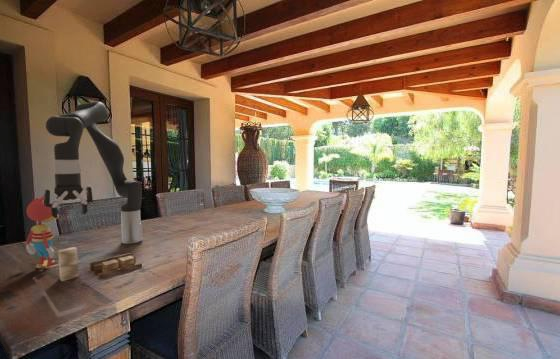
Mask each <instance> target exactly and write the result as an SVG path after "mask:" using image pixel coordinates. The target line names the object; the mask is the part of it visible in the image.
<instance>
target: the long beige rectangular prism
mask: <svg viewBox="0 0 560 359" xmlns="http://www.w3.org/2000/svg"><path fill="white" fill-rule="evenodd" d="M57 251H58V252H57V253H58V263H59V265H58V269H59V270H58V271H59V272H58V273H59V280H60V281H61V282H65V281H67V280H72V279H75V278H78V277H79V260H78V248H77V247H76V246H73V247H68V248H62V249H58V250H57Z"/></svg>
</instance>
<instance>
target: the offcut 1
mask: <svg viewBox="0 0 560 359" xmlns="http://www.w3.org/2000/svg"><path fill="white" fill-rule="evenodd" d="M115 269H119V265H118V261H116V260H115V259H114V260H110V261H106V262H102V273H104V272H108V271H112V270H115Z"/></svg>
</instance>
